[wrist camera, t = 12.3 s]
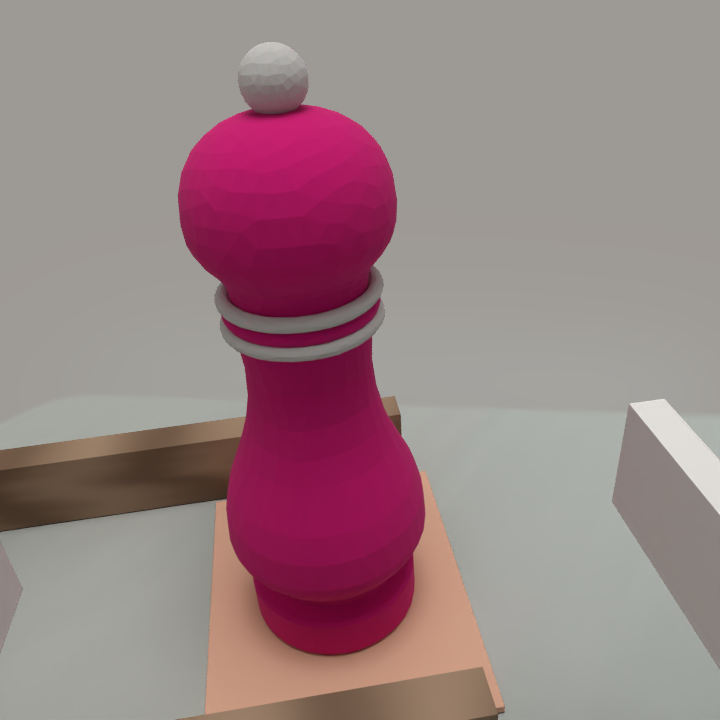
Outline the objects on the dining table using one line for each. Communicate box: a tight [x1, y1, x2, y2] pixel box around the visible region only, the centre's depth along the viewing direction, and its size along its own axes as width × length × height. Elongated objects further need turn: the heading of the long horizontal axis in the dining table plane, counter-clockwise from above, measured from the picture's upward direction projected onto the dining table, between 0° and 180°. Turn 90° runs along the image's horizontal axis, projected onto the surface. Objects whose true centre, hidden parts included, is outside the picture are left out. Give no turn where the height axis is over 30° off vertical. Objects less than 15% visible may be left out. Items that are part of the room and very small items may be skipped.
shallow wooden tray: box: [0, 396, 498, 720], centre depth 26 cm, size 22×16×4 cm
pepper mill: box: [178, 42, 426, 655], centre depth 22 cm, size 7×7×20 cm
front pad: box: [205, 471, 505, 715], centre depth 28 cm, size 10×12×1 cm
